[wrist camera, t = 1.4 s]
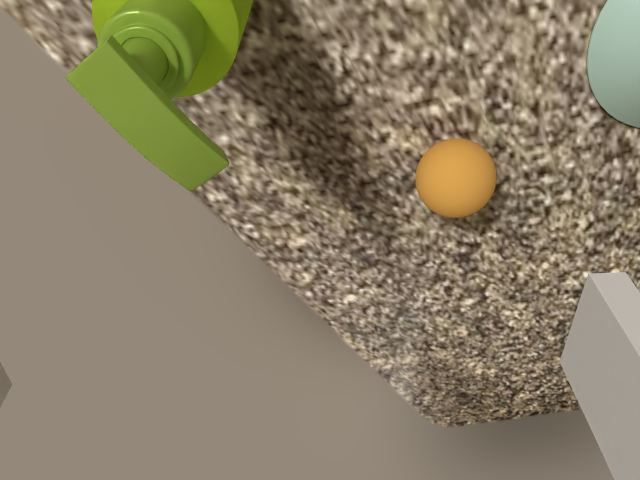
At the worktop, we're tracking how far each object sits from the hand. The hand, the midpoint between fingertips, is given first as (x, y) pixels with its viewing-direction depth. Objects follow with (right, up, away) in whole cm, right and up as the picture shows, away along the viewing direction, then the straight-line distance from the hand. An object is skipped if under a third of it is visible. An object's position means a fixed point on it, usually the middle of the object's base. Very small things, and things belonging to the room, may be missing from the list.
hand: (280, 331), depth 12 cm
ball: (+10, +6, +27) cm, 29 cm away
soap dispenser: (-5, +18, +21) cm, 28 cm away
